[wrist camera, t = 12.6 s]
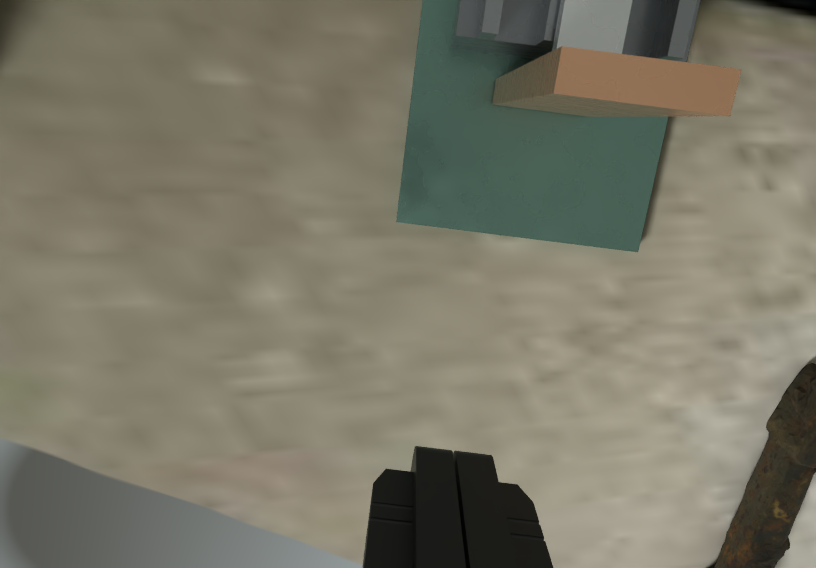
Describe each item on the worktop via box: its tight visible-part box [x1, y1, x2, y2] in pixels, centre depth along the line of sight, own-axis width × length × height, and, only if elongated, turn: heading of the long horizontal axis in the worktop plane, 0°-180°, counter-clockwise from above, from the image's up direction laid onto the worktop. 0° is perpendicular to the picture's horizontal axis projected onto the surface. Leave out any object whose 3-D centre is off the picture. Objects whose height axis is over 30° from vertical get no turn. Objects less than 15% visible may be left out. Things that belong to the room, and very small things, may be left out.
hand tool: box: [714, 363, 816, 568], centre depth 44 cm, size 19×4×5 cm, turn 166°
